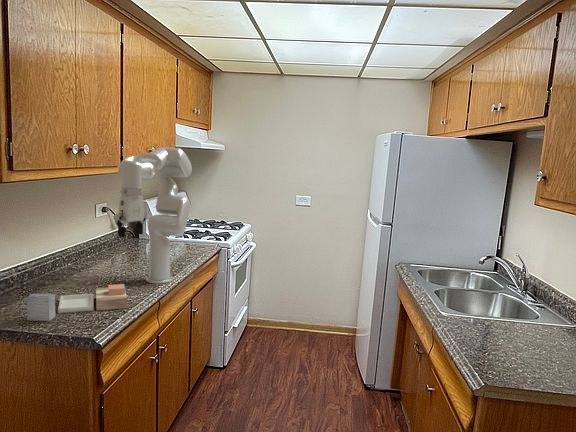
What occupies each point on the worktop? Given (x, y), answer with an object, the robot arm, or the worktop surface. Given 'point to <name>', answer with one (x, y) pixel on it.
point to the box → (76, 303)
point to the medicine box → (40, 307)
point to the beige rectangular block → (109, 300)
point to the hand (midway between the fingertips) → (130, 235)
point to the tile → (116, 289)
